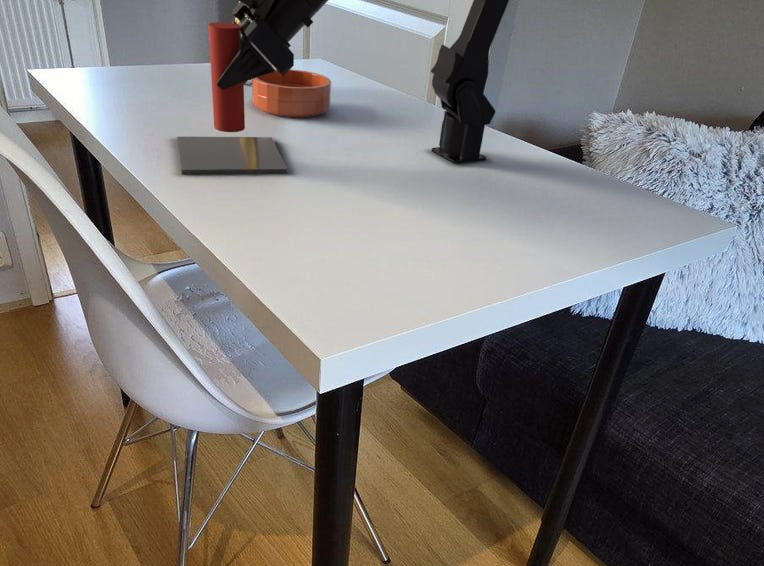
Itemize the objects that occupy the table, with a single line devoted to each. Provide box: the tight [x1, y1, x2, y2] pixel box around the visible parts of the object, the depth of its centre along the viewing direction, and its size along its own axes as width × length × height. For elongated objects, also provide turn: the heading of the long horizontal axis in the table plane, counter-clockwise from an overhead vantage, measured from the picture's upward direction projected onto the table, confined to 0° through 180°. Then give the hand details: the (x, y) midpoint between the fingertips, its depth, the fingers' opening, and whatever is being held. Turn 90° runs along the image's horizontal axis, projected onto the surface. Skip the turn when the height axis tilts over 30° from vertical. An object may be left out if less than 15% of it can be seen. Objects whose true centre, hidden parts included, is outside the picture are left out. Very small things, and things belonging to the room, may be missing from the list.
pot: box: [251, 68, 332, 118], centre depth 117 cm, size 14×14×5 cm
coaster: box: [176, 136, 288, 175], centre depth 95 cm, size 14×14×1 cm
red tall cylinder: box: [208, 21, 246, 133], centre depth 89 cm, size 4×4×13 cm
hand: (217, 82), depth 89 cm, fingers closed on red tall cylinder, 4 cm apart
